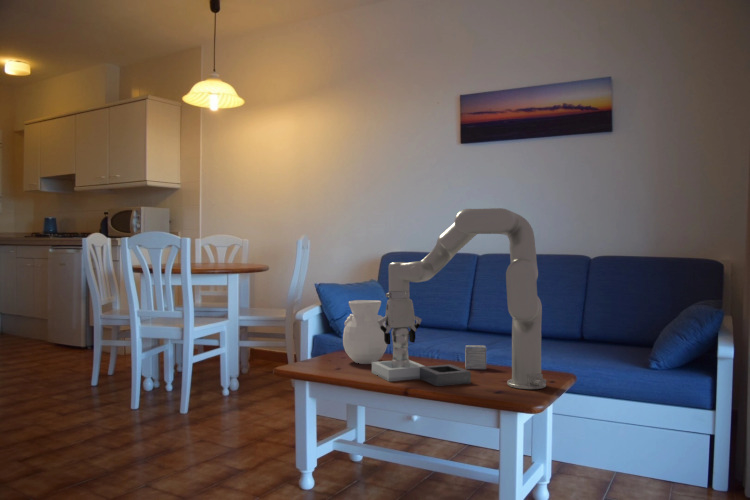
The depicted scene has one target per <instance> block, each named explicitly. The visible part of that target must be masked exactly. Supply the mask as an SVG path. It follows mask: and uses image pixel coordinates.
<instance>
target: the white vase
mask: <svg viewBox="0 0 750 500" xmlns="http://www.w3.org/2000/svg"><path fill="white" fill-rule="evenodd" d="M381 305H382V301H381V300H378V299H377V300H374V299H372V300H371V299H370V300H368V299H366V300H365V299H362V300H361V299H355V300H349V301H348V306H349V308H350V311H351V313H350V314H349V315H348V316H347V317H346V320H345V321H344V323H343V325H344V328H343V334H342V335H343V336H342V346H343V349H344V351H345V353H346V354H347V355H348V357H349V358H350V359H351V360H352V361H353V362H354V363H355V364H358V363H359V364H360V365H372V362H379V361H380V359H382V357H383V356H384V354H385V352H386V350H387V348H388V344H386V343H385V341H384V332H383V331H382V330H381V329H380V327H379V325H378V323H377V321H378V320H380V319H382V318H383V317H384V316H382V315H379V310H380V308H381ZM383 326H384V327H386V323H385V322H383Z"/></svg>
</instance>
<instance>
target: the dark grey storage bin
mask: <svg viewBox="0 0 750 500" xmlns="http://www.w3.org/2000/svg"><path fill="white" fill-rule="evenodd" d="M425 366H426V365H424V367H420V379H419V380H422V381H424V382H426V383H429V384H430V385H433V386H435V387H444V386H445V387H446V386H456V385H465V384H466V385H468V384H472V381H471V380H472V371H470V370H469V369H466V368H465V369H464V368H463V367H459V366H457V365H453V364H451V363H450V364H440V365H428V366H426V367H425Z"/></svg>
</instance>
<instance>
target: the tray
mask: <svg viewBox="0 0 750 500" xmlns="http://www.w3.org/2000/svg"><path fill="white" fill-rule="evenodd" d="M409 363H410V367H404V368H392V366H391V365H392V360H382V361H381V360H379V361H378V362H372V364H371V374H373V375H374V376H377V375H378V376H377V377H379V378H380V379H383V380H385V381H386V382H400V381H407V380H408V381H409V380H410V381H411V380H421V379H420V367H424V366H425V367H426V365H423V364H421V363H418V362H417V361H415V360H414V361H413V360H410V359H409Z"/></svg>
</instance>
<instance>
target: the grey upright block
mask: <svg viewBox="0 0 750 500" xmlns="http://www.w3.org/2000/svg"><path fill="white" fill-rule="evenodd" d="M464 347H465V349H464V355H465V357H464V360H465V361H464V362H465V363H464V366H465V370H487V346H486V345H479V344H478V345H474V344H473V345H471V344H470V345H464Z"/></svg>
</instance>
